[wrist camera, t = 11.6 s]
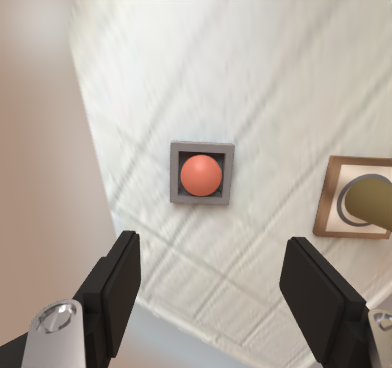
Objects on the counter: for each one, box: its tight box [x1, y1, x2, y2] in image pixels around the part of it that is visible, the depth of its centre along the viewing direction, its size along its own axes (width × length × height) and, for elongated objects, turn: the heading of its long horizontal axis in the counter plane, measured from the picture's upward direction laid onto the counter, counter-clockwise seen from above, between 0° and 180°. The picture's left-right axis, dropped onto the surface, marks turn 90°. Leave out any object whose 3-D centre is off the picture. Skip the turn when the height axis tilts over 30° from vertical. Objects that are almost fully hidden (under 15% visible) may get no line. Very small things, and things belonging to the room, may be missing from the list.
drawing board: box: [313, 156, 392, 239], centre depth 30 cm, size 12×11×2 cm
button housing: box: [170, 141, 235, 205], centre depth 28 cm, size 8×8×2 cm
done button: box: [181, 154, 222, 196], centre depth 27 cm, size 5×5×2 cm
